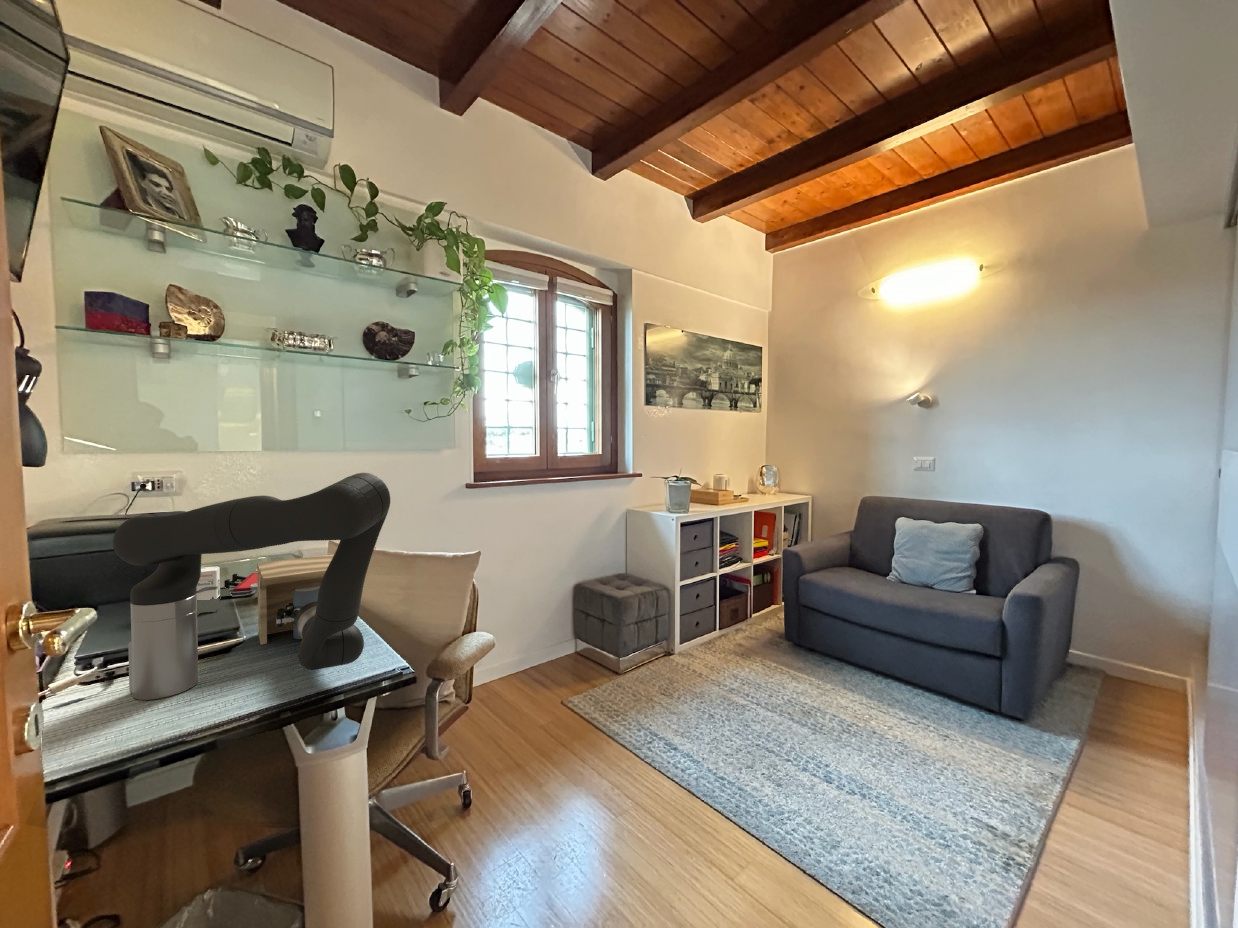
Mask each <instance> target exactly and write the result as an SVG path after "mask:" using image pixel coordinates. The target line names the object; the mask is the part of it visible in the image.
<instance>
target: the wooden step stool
mask: <svg viewBox="0 0 1238 928" xmlns="http://www.w3.org/2000/svg"><path fill="white" fill-rule="evenodd" d="M334 554H335V553H334ZM334 554H326V555H325V554H324V555H315V556H309V557H308V556H306V557H298V558H288V559H281V560H280V559H279V560H271V561H270V560H269V561H261V562H260V561H259V562H257V563H256V564H257V565H256V569H257V572H256V573H257V582H258V591H257V635H258V640H259V642H260V643H259V644H260V645H264V644H265V645H266V644H268V636H267V635H271V634H276V633H282V632H288V631H293V624H292V623H291V622H286V624H283V626H282V627H277V618H276V615H277V612H278V609H280V608H284V609H285V610H286V605H289V603H293V589H295V588H297V587H301V586H306V585H320V584H321V581H322V579H323V576H324V574H325V572H326V570H327V568H328V566H329V564H330V562H331V560H332V558H333V556H334Z"/></svg>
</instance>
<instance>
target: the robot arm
mask: <svg viewBox="0 0 1238 928" xmlns="http://www.w3.org/2000/svg"><path fill="white" fill-rule="evenodd" d="M390 505H391V494H390V490H389V488H388V486H387V484H386V483H385V482H384V480H383V479H381V477H378V476H377V475H375V474H373V473H371V472H370V473H369V472H360V473H359V472H358V473H355V474H351V475H348V476H347V477H344V478H343V479H341V480H339V481H337V482H334V483H333V484H330V485H328V486H326V487H324V488H322V489H320V490H317V491H315V492H311V493H309V494H306V495H302V496H299V497H294V498H290V499H280V498H277V497H274V496H271V495H250V496H247V497H241V498H234V499H230V500H226V501H221V502H217V503H214V504H210V505H205V506H202V507H199V508H198V507H197V508H195V509H194V508H193V509H190V510H189V511H185V510H177V511H175V510H174V511H164V512H155V513H149V514H148V513H147V514H141V515H137V516H133V517H131V518H128V519H127V520H125V521H124V522H122V523H121V524H120V525H119V526H118V527H117V529H116V531H115V532H114V534H113V536H112V537H113V538H112V547H113V550H114V552H115V554H116V555H117V556H118V557H119V558H120V560H123V561H124V562H126V563H128V564H129V565H133V566H138V567H139V566H140V567H144V566H151V565H157V564H158V567H157V568H156V569H155V571H154V572H153V573H151V574H150V575H149V576H148V577H146V578H145V579H143V580H141V581H140V582H137V583H136V584H135V585H133V587H132V588H131V590H130V593H129V594H130V596H129V597H130V600H129V601H130V627H131V628H130V633H131V634H130V635H131V640H130V641H128V644H127V645H128V680H129V681H128V687H129V688H128V692H129V693H130V694H132V697H133V699H135V700H140V701H146V700H147V701H148V700H149V701H150V700H156V699H163V698H167V697H168V698H169V697H171V696H175V695H178V694H180V693H183V692H186V691H188V690H190V689H192V688H193V687H195V686H196V685H197V684H198V682H199V667H198V666H199V665H198V664H199V654H198V648H199V647H198V644H199V643H198V642H199V641H198V614H197V594H196V593H197V584H198V582H199V579H200V576H201V568H202V558H203V557H202V555H206V554H208V555H209V554H223V553H235V552H236V553H237V552H246V551H252V550H259V549H263V548H265V549H266V548H269V547H275V546H280V545H287V544H290V543H296V542H309V541H310V542H311V541H312V542H316V541H318V542H319V541H339V543H338V545H337V547H336V550H335V551H334V556H333V558H332V560H331V562H330V564H329V566H328V568H327V570H326V572H325V574H324V576H323V579H322V581H321V584H320V588H319V592H318V599H317V601H315V602H311V603H308V604H306V605H305V606H295V607H294V605H293V603H289V605H286V610H285V609H284V608H280V609H278V612H277V615H276V618H277V627H282V626H283V624H286V622H291V623H292V624H295V626H296V628H297V631H298V634H299V635H300V637H301V638H302V639H301V641H300V644H299V648H298V661H299V663H300V665H301V666H302V667H303V669H306V670H308V671H317V670H323V669H329V668H333V667H339V666H343V665H348V664H351V663H353V662H355V661H356V660H358V659H359V658H360V656H361V655H362V653H363V651H364V646H365V641H364V635H363V633H362V631H361V630H360V628H359V627H358V626H356V625H355V623H356V622H357V620H358V617H359V613H360V612H359V611H360V607H361V602H362V596H363V589H364V584H365V580H366V577H367V572H368V569H369V565H370V562H371V559H372V557H373V552H374V550H375V547H376V544H377V542H378V538H379V535H380V533H381V531H382V528H383V525H384V523H385V521H386V519H387V516H388V513H389V511H390ZM189 688H190V689H189Z"/></svg>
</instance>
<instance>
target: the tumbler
mask: <svg viewBox="0 0 1238 928" xmlns="http://www.w3.org/2000/svg"><path fill="white" fill-rule="evenodd" d="M319 588H320V585H306V586H301V587H297V588H295V589H293V605H294V607H295V606H305V605H306V604H308V603H311V602H315V601H317V599H318V592H319ZM292 633H293V638H294V639H297V640H302V638H301V637H300V635H299V634H298V631H297V628H296V626H295V624H293V630H292Z"/></svg>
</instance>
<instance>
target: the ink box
mask: <svg viewBox="0 0 1238 928" xmlns="http://www.w3.org/2000/svg"><path fill="white" fill-rule="evenodd" d="M220 569H221V567H220V566H205V567H203V566H202V567H201V576H200V579H199V582H198V584H197V593H196V594H197V600H210V599H217V598H218V597H219V596H220V595H221V579H220V578H221V574H220V571H221V570H220Z"/></svg>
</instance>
